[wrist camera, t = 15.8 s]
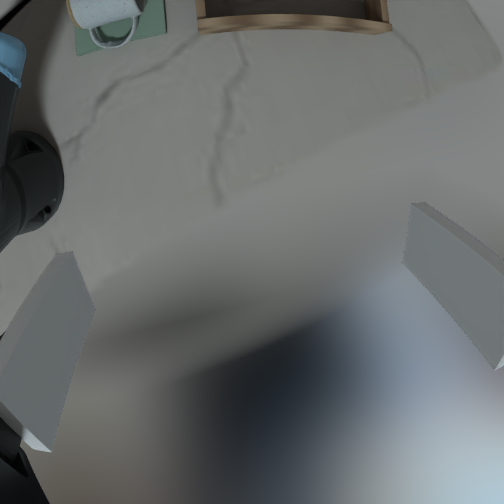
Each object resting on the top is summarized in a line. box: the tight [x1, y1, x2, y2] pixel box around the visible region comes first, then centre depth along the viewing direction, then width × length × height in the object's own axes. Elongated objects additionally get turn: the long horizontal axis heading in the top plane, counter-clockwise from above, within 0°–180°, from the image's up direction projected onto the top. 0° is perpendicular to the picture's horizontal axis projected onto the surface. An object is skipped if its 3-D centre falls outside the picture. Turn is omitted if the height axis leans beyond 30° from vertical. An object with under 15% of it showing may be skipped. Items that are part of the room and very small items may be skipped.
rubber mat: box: [75, 0, 167, 56], centre depth 27 cm, size 12×12×1 cm
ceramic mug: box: [66, 0, 145, 49], centre depth 24 cm, size 11×8×8 cm
